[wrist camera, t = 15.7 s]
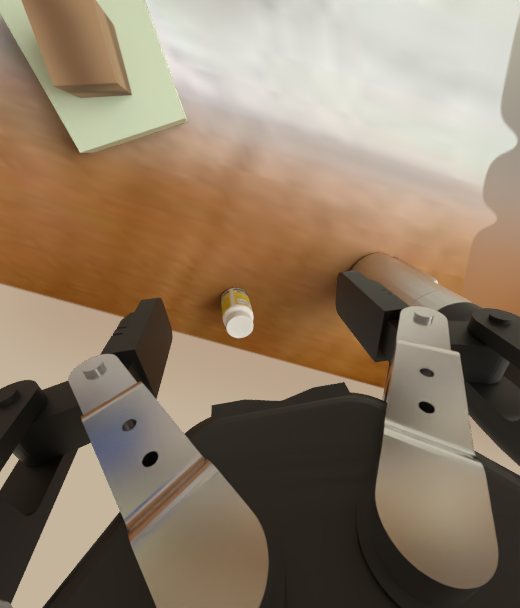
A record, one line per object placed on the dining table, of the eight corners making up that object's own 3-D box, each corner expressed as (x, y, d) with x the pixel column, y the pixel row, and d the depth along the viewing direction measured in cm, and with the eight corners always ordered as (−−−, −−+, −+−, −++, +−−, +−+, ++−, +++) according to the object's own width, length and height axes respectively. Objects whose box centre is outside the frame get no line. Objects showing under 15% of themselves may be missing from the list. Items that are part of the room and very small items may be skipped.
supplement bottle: (225, 313, 45) (228, 344, 38) (217, 291, 42) (218, 319, 35) (251, 306, 45) (259, 335, 38) (244, 283, 43) (252, 309, 35)
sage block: (136, -25, 24) (124, -54, 21) (188, 122, 31) (185, 118, 27) (18, 13, 24) (-13, -9, 21) (94, 153, 31) (80, 152, 27)
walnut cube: (114, 25, 23) (92, -5, 19) (132, 95, 26) (116, 82, 21) (55, 26, 23) (20, -4, 18) (80, 98, 25) (53, 86, 21)
